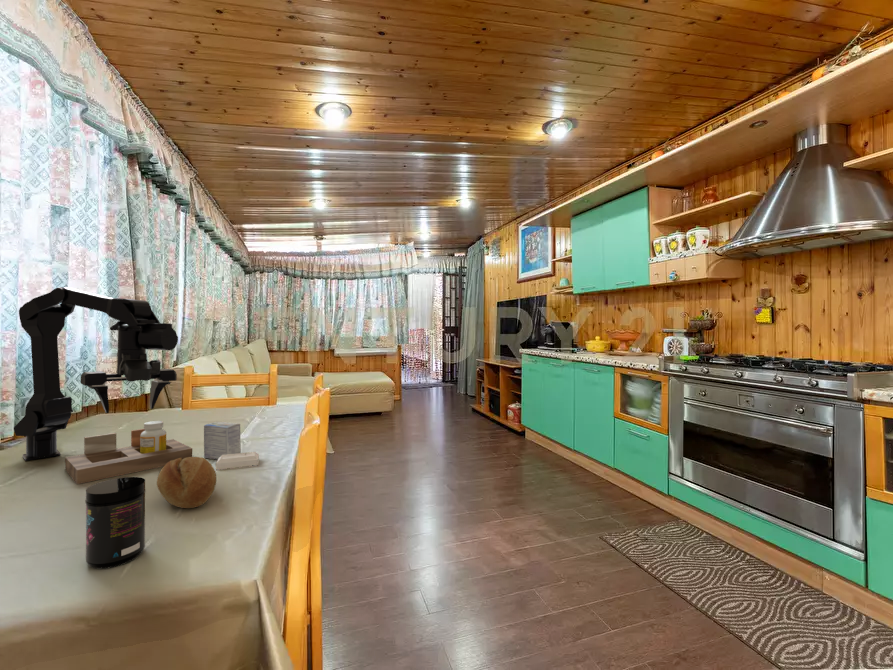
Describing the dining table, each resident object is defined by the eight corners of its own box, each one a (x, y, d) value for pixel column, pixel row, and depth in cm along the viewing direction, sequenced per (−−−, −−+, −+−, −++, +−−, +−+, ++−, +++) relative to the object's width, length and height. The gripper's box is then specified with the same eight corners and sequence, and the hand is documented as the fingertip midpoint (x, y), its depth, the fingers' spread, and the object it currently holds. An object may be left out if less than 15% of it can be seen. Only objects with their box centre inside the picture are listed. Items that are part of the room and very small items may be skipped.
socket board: (65, 470, 98) (65, 440, 98) (173, 450, 114) (173, 424, 114) (77, 484, 89) (77, 451, 89) (192, 460, 105) (192, 432, 105)
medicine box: (241, 456, 109) (241, 423, 109) (227, 461, 105) (227, 426, 105) (218, 453, 112) (218, 421, 111) (203, 458, 107) (203, 424, 107)
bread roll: (162, 520, 72) (162, 474, 72) (152, 494, 83) (152, 454, 83) (224, 506, 78) (224, 463, 78) (207, 483, 90) (207, 446, 90)
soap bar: (258, 467, 102) (258, 456, 102) (216, 471, 98) (216, 460, 98) (258, 461, 106) (258, 450, 106) (218, 465, 103) (218, 454, 103)
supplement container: (121, 542, 64) (121, 475, 64) (156, 548, 63) (156, 479, 62) (72, 566, 58) (72, 491, 58) (110, 574, 56) (110, 496, 56)
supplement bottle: (143, 465, 101) (143, 425, 101) (137, 461, 105) (137, 422, 105) (169, 460, 105) (169, 422, 105) (162, 456, 109) (162, 419, 109)
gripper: (91, 351, 93) (89, 421, 94) (185, 350, 108) (183, 411, 108) (80, 348, 101) (79, 413, 101) (170, 348, 115) (168, 405, 115)
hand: (130, 410), depth 106 cm, fingers open, 9 cm apart
